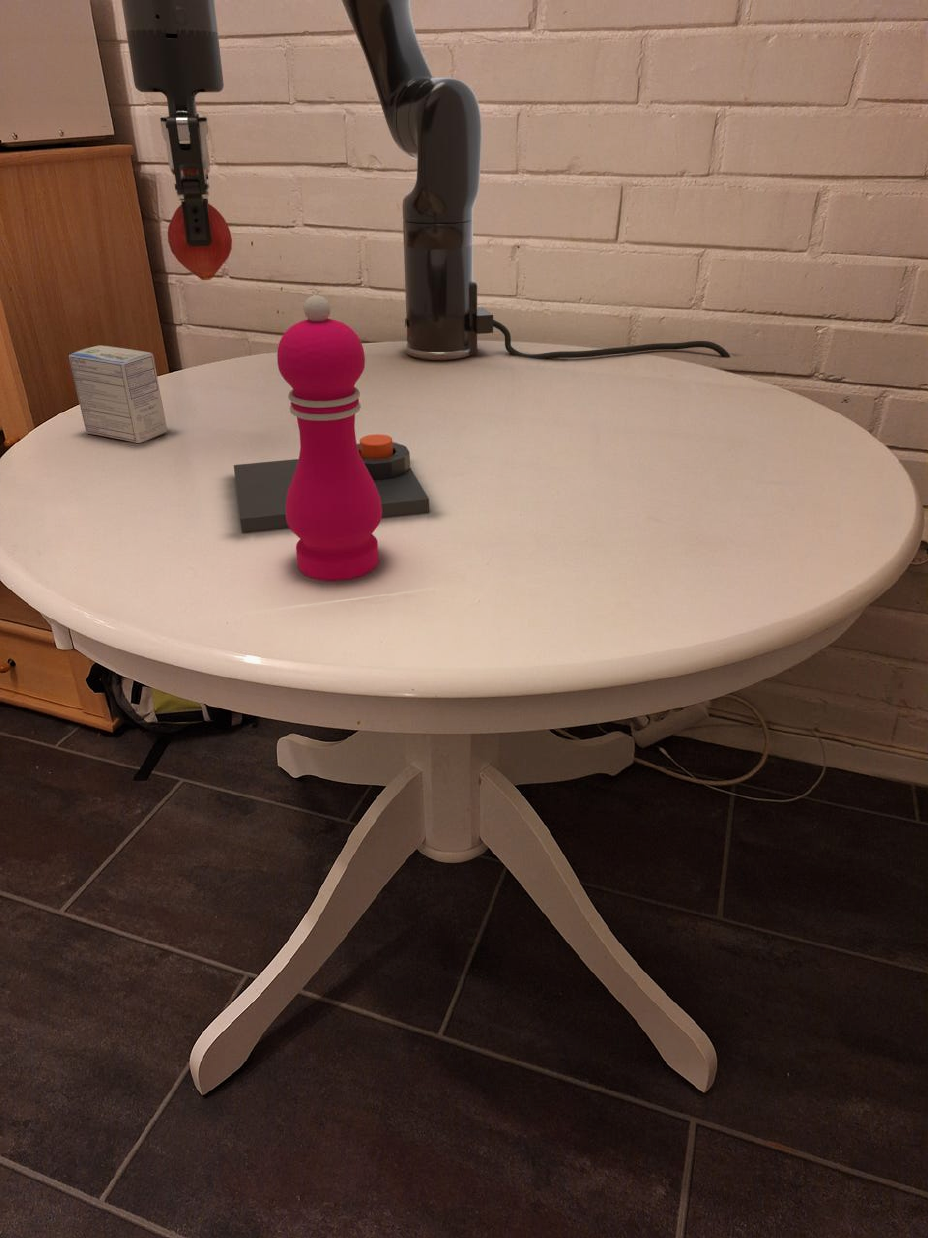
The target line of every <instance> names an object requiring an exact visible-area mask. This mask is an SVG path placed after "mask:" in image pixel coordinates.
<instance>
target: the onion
mask: <svg viewBox="0 0 928 1238" xmlns="http://www.w3.org/2000/svg"><path fill="white" fill-rule="evenodd" d="M202 201H204V200H202ZM207 206H208V214H209V222H210V229H211V237H212V242H211V244H210V245H209V246H190V245H189V244H188V243H187V240H186V232H185V225H184V218H183V211H182V204H180V205H179V206H178V207H177V208H176V209H175V211H174V213H173V215H172V217H171V220H170V222H169V224H168V229H167V242H168V245H169V248H170V251H171V253H172V255H173V256H174V257H175V258H176V260H177V261H178V262H179V263H180V264H181V265H182V266H183V267H184V268H185V269H186V270H188V271H189V272H191V273H192V274H194V275H195V276H196V277H198V278H199V279H200V280H202V281H210V280H212V279H213V278H214V277H215V276H216V274H217V273H218V271H219V270H220V269H221V268H222V266H223V265H224V264H225V263H226V262H227V260H228V259H229V257H230V254H231V252H232V245H233V237H232V233H231V230H230V227H229V225H228V223H227V221H226V219H225V218H224V216H223V215H222V213H220V211H219V210H217V208H216V207H214V206H213V205H212V204H210V203H209V202H208V203H207Z"/></svg>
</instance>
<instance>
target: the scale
mask: <svg viewBox="0 0 928 1238" xmlns="http://www.w3.org/2000/svg"><path fill="white" fill-rule="evenodd" d="M357 447H358V450H359V453H360V455H361V452H360V443H357ZM410 454H411V453H410V451H409V449H408V447H407V446H406V445H404V444H400V443H398V442H395V441H393V456H390V457H387V458H378V459H371V458H364V457H362V456H361V458H362V460H363V462H364V464H365V466H366V468H367V469H368V471H369V473H370V475H371V477H372V479H373V481H374V482H375V485H376V488H377V490H378V493H379V496H380V500H381V506H382V518H381V519H386V518H395V517H403V516H414V515H421V514H430V498H429V496H428V494H427V493H426V492H425V490H424V488H423V486H422V485H421V483H420V481H419V480H418V478H417V477H416V475H415V473H414V471H413V470H412V468H411V456H410ZM298 461H299V458H295V459H283V460H272V461H263V462H262V461H261V462H252V463H241V464H233V472H234V480H235V488H236V489H235V490H236V497H237V506H238V512H239V513H238V514H239V521H240V527H241V529H240V530H241V534H249V533H257V532H267V531H277V530H286V529H290V527H289V526H288V524H287V520H286V499H287V494H288V490H289V487H290V484H291V481H292V479H293V476H294V473H295V471H296V467H297V464H298Z"/></svg>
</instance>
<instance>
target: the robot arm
mask: <svg viewBox="0 0 928 1238" xmlns="http://www.w3.org/2000/svg"><path fill="white" fill-rule="evenodd" d="M341 2H342V5H343V7H344V9H345V12H346V14H347V17H348V19H349V22H350V24H351V27H352V29H353V31H354V33H355V35H356V38H357V40H358V42H359V45H360V47H361V49H362V52H363V55H364V57H365V60H366V63H367V65H368V69H369V71H370V72H369V73H370V75H371V78H372V81H373V84H374V87H375V90H376V94H377V97H378V100H379V103H380V107H381V109H382V113H383V117H384V119H385V122H386V125H387V128H388V130H389V133H390V135H391V138H392V139H393V141H394V142H395V144H396V146H397V148H398V149H399V150H400V151H401V152H402V153H404V155H406V156H408V157H410V158H411V159H413V160H417V161H416V181H415V183H414V185H413V187H412V189H411V190H410V191H409V192H408V193H407V194H406V195H404V197H403V199H402V204H401V205H402V206H401V207H402V208H401V209H402V229H403V230H402V231H403V232H402V233H403V236H402V237H403V255H404V256H403V257H404V259H403V260H404V290H405V291H404V292H405V319H404V328H406V354H408V355H409V356H410V357H413V358H416V359H420V360H429V361H447V360H448V361H449V360H457V359H462V358H467V357H469V356H477V355H478V335H483V334H484V335H485V334H494V328H495V329H497V330H499V332H501V334H502V335H503V336H504V347H505V350H506V351H507V352H508V353H509V354H510V355H511V356H513V357H514V356H515V357H522V358H527V359H535V360H536V359H537V360H553V359H577V358H578V359H580V358H581V359H582V358H592V357H594V358H595V357H603V356H612V355H613V356H614V355H623V354H632V353H639V352H648V351H661V350H662V351H663V350H664V351H665V350H669V351H670V350H671V351H672V350H685V349H693V348H694V349H695V348H706V349H710V350H713V351H715V352H716V353H718V354H719V355H720V356H721V357H722V358H726V359H729V358H731V355H730V353H729V352H728V351H727V350H726V349H725V348H724V347H722V346H721V345H719V344H717V343H715V342H713V341H708V340H692V341H684V342H683V341H682V342H668V343H667V342H661V343H658V342H657V343H646V344H638V345H630V346H621V347H609V348H601V349H600V348H599V349H589V350H571V351H570V350H568V351H567V350H566V351H565V350H564V351H563V350H561V351H560V350H559V351H550V352H543V353H534V354H528V353H522V352H521V351H518V350H517V349H515V348H514V347H513V346H512V336H511V333H510V330H509V328H507V327H506V326H505V325H504V324H503V323H501V322H500V321H497V320H495V319H494V314H493V313H492V312H490V311H488V310H487V309H486V308H485V307H483V306H482V307H481V306H480V307H478V283H477V282H476V281H475V280H474V220H473V219H474V207H475V204H476V201H477V198H478V195H479V192H480V184H481V183H480V181H481V160H482V137H483V133H482V132H483V130H482V129H483V128H482V127H483V125H482V114H481V109H480V108H481V107H480V105H479V101H478V99H477V96H476V94H475V93H474V91H473V89H472V88H471V87H470V86H469V85H468V84H467V83H465V82H464V81H463V80H460V79H458V78H454V77H434V75H433V73H432V71H431V69H430V67H429V64H428V63H427V60H426V58H425V56H424V53H423V50H422V48H421V45H420V42H419V40H418V37H417V34H416V31H415V27H414V22H413V17H412V11H411V0H341ZM121 6H122V13H123V20H124V24H125V26H124V27H125V32H126V37H127V38H126V39H127V46H128V52H129V59H130V64H131V71H132V78H133V83H134V87H135V89H136V90H137V91H139V92H141V93H161V94H163V95H164V96H165V98H166V103H167V110H168V116H161V117H160V118H159V119H160V121H159V122H160V128H161V134H162V137H163V141H164V142H165V144H166V153H167V160H168V161H167V162H168V167H169V171H170V173H171V174H172V175H173V176H174V180H175V183H174V189H175V191H176V195H177V197H178V200H179V201H181V202H180V203H181V204H182V211H183V218H184V225H185V232H186V240H187V243H188V244H189V245H190V246H209V245H210V244H211V242H212V237H211V229H210V222H209V214H208V206H207V203H208V204H209V197H208V196H210V193H209V189H210V184H209V182H208V180H209V174H210V171H211V163H210V161H211V160H210V152H209V145H208V141H209V140H210V133H209V124H208V123H209V122H208V117H207V116H200V114H199V113H198V111H197V104H196V98H197V95H198V94H200V93H221V92H222V91H223V90H224V85H225V84H224V75H223V67H222V57H221V56H222V55H221V49H220V40H219V30H218V22H217V13H216V4H215V0H121ZM202 200H204V201H202ZM181 204H180V205H181Z"/></svg>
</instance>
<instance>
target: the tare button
mask: <svg viewBox="0 0 928 1238" xmlns="http://www.w3.org/2000/svg"><path fill="white" fill-rule="evenodd" d="M393 442H394V440H393V437H392V436H389V435H388V434H387V435H386V434H380V433H379V434H378V433H377V434H376V433H375V434H368V435H365V436H362V437H361V438H360V439H359V444H360V452H361V456H362V457H364V458H371V459H378V458H387V457H390V456H393Z"/></svg>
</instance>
